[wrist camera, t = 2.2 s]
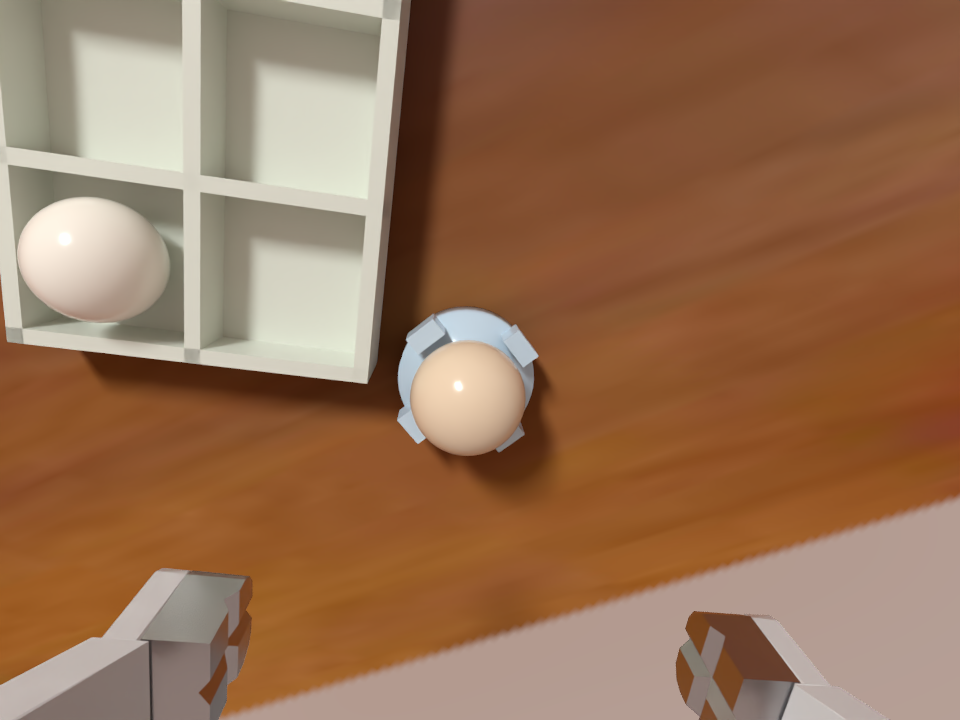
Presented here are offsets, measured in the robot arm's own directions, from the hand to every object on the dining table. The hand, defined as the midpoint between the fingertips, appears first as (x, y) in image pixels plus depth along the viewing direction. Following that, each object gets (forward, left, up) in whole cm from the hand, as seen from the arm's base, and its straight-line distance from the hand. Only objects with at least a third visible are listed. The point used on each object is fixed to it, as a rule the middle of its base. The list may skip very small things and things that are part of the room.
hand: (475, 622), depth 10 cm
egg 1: (+14, -4, -15) cm, 21 cm away
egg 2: (0, 0, -14) cm, 14 cm away
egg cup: (0, 0, -16) cm, 16 cm away
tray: (+11, -10, -16) cm, 22 cm away
